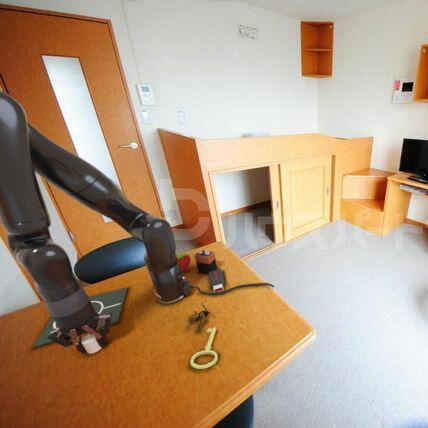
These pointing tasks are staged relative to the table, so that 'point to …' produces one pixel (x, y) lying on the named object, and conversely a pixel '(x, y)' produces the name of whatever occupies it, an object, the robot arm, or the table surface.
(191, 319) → the creature
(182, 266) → the strawberry
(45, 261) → the robot arm
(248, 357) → the table surface
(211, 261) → the battery
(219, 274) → the usb drive
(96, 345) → the eye puck
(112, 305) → the chalkboard
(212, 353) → the key
